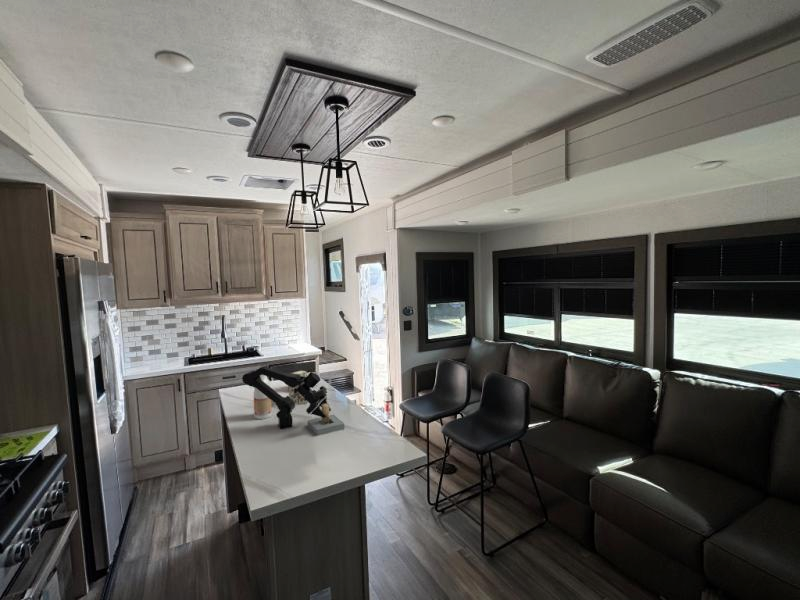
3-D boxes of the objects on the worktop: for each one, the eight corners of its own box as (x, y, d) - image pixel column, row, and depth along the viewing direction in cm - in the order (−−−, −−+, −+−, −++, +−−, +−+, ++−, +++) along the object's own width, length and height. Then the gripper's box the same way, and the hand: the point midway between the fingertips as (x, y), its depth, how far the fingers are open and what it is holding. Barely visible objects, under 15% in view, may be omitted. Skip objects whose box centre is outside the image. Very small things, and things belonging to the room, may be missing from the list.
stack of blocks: (311, 383, 280) (311, 367, 279) (317, 385, 277) (316, 368, 276) (287, 391, 263) (287, 374, 262) (293, 392, 259) (292, 375, 259)
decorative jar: (288, 405, 234) (287, 377, 232) (289, 399, 245) (288, 372, 244) (308, 403, 237) (307, 376, 235) (308, 397, 248) (307, 371, 247)
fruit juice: (262, 420, 210) (260, 372, 208) (250, 417, 215) (248, 370, 213) (275, 414, 219) (273, 368, 217) (263, 412, 223) (261, 366, 221)
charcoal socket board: (317, 435, 190) (317, 430, 190) (307, 425, 203) (307, 420, 202) (344, 428, 198) (344, 423, 198) (333, 419, 211) (333, 414, 210)
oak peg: (325, 429, 197) (325, 406, 196) (320, 427, 200) (319, 405, 199) (331, 426, 201) (330, 404, 200) (325, 425, 203) (325, 402, 202)
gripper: (311, 388, 190) (333, 410, 189) (322, 378, 208) (342, 398, 208) (297, 403, 191) (318, 424, 191) (309, 391, 210) (329, 411, 209)
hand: (328, 414), depth 200 cm, fingers open, 9 cm apart
